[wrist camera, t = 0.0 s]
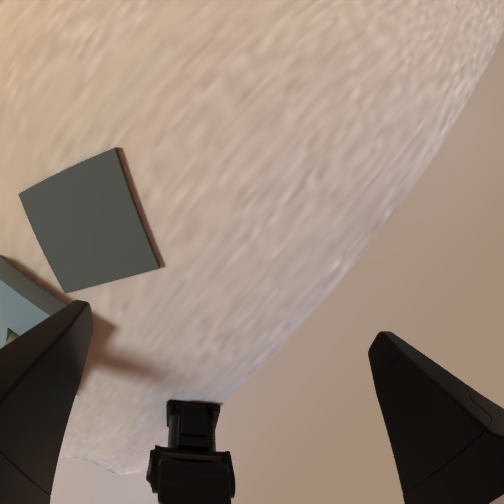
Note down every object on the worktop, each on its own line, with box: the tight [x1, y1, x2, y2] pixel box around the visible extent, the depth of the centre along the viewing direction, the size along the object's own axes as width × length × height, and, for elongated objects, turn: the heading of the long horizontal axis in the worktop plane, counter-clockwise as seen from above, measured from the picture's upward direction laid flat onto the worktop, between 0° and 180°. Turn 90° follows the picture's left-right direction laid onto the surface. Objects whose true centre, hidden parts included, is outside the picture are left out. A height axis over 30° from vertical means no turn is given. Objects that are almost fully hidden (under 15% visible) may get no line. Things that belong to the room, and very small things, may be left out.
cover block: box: [0, 256, 67, 349], centre depth 24 cm, size 12×16×2 cm
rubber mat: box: [19, 148, 160, 293], centre depth 21 cm, size 10×10×1 cm
